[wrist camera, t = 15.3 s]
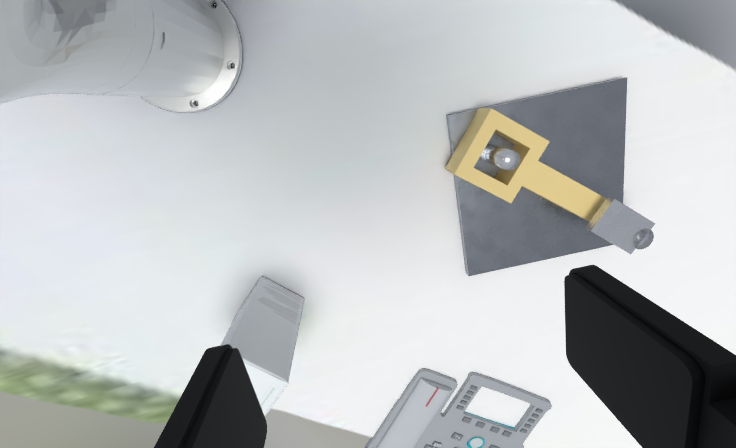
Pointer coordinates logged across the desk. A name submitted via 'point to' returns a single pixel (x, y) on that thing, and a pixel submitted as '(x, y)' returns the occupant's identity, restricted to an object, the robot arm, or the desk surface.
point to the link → (519, 166)
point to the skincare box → (267, 338)
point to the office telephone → (453, 415)
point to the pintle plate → (567, 156)
